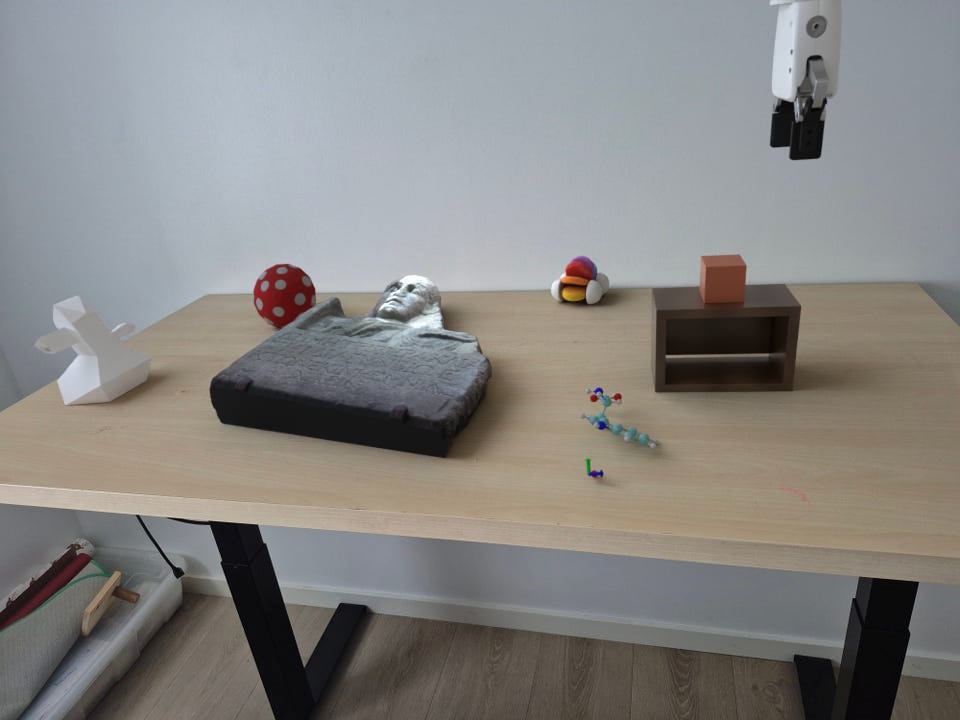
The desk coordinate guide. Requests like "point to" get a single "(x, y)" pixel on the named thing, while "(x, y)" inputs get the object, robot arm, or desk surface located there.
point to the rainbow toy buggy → (580, 282)
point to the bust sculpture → (362, 375)
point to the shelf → (724, 340)
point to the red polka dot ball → (283, 294)
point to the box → (722, 278)
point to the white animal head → (93, 355)
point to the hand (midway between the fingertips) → (793, 152)
